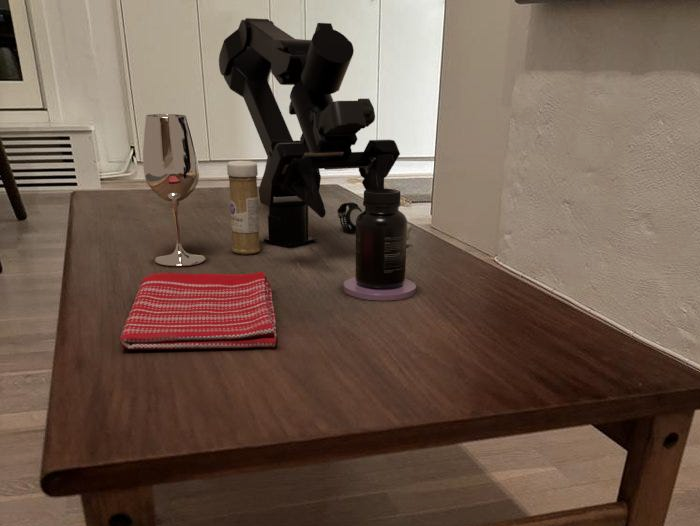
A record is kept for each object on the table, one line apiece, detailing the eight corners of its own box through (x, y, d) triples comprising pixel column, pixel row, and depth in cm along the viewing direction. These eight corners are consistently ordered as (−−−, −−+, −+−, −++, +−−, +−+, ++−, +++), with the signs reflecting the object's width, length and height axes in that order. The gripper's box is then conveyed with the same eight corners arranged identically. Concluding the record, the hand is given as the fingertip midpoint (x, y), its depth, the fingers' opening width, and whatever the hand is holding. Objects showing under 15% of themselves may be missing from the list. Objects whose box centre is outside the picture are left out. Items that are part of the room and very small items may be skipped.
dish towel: (270, 289, 101) (269, 269, 99) (280, 349, 80) (279, 326, 79) (141, 291, 98) (139, 271, 97) (118, 354, 78) (114, 330, 77)
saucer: (373, 276, 108) (373, 270, 107) (430, 289, 102) (430, 283, 102) (328, 290, 101) (328, 283, 100) (386, 305, 95) (386, 298, 95)
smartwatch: (343, 235, 131) (344, 205, 129) (336, 229, 136) (336, 200, 133) (365, 234, 132) (366, 205, 130) (357, 228, 137) (358, 200, 134)
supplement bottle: (403, 277, 104) (408, 187, 98) (405, 290, 98) (410, 195, 92) (354, 276, 104) (356, 185, 98) (354, 289, 98) (356, 194, 92)
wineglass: (194, 268, 109) (181, 118, 99) (145, 265, 110) (127, 116, 100) (213, 256, 115) (203, 114, 105) (167, 253, 117) (152, 112, 107)
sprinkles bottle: (226, 251, 118) (220, 161, 112) (247, 247, 121) (243, 159, 115) (245, 256, 116) (240, 164, 109) (266, 252, 119) (263, 162, 112)
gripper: (272, 74, 95) (309, 179, 92) (396, 76, 103) (434, 172, 100) (252, 135, 105) (286, 231, 102) (367, 132, 113) (401, 221, 110)
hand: (353, 213), depth 103 cm, fingers open, 9 cm apart
